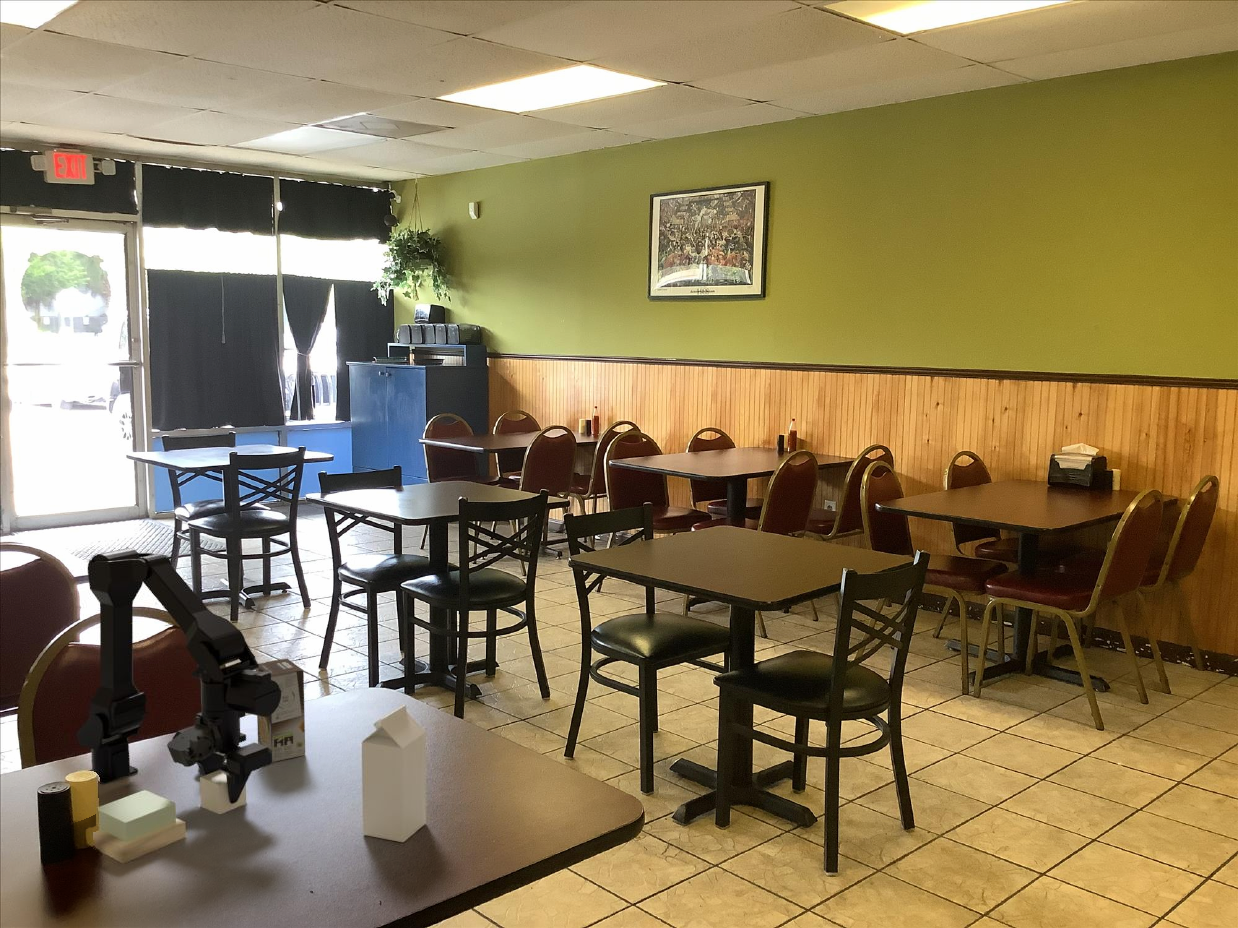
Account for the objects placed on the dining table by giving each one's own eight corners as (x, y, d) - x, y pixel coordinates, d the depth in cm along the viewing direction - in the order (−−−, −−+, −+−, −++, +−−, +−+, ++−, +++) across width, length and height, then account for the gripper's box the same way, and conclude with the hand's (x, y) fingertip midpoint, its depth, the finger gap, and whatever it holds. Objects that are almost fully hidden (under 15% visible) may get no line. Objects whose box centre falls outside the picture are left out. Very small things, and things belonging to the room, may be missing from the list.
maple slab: (86, 847, 156) (85, 828, 156) (148, 823, 165) (147, 804, 164) (123, 867, 151) (122, 847, 151) (185, 840, 159) (185, 822, 159)
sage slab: (95, 827, 157) (95, 808, 156) (145, 808, 163) (144, 789, 163) (126, 842, 152) (125, 822, 152) (176, 821, 159) (175, 802, 158)
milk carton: (426, 823, 165) (425, 707, 162) (403, 843, 158) (402, 722, 156) (387, 816, 167) (386, 701, 165) (362, 835, 160) (360, 716, 158)
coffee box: (307, 755, 191) (305, 669, 189) (272, 762, 187) (270, 676, 185) (289, 739, 198) (288, 657, 197) (255, 746, 195) (253, 663, 193)
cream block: (200, 806, 170) (199, 777, 169) (227, 795, 174) (226, 767, 173) (219, 814, 167) (218, 784, 166) (246, 803, 171) (245, 774, 170)
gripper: (140, 707, 167) (144, 801, 169) (212, 733, 157) (215, 832, 158) (202, 689, 176) (205, 778, 178) (273, 712, 166) (276, 806, 167)
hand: (223, 798), depth 170 cm, fingers open, 5 cm apart
